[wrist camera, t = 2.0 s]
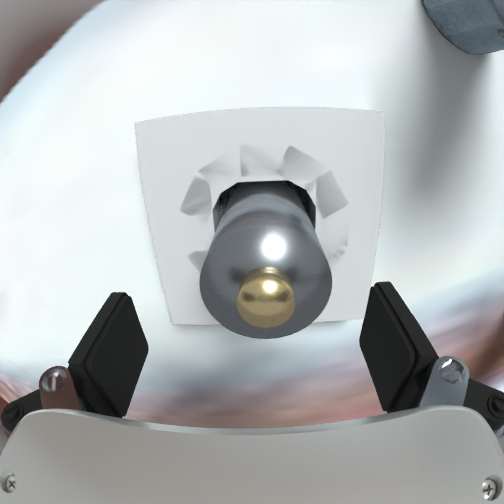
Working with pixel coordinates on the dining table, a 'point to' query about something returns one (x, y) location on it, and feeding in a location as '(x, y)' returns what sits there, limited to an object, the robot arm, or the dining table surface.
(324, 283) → the end cover
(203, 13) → the dining table surface
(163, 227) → the housing
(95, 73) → the dining table surface
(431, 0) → the moka pot
